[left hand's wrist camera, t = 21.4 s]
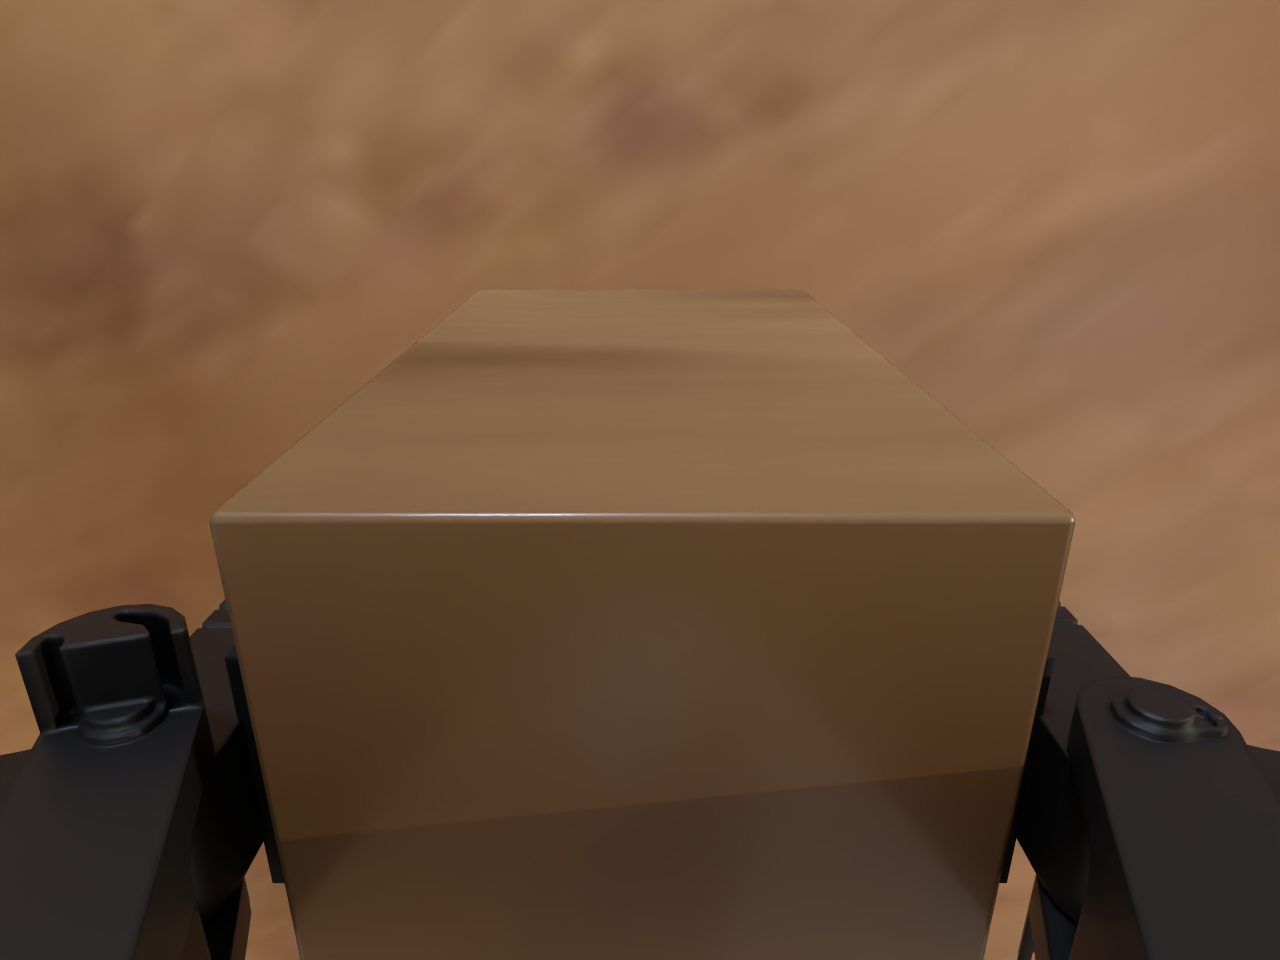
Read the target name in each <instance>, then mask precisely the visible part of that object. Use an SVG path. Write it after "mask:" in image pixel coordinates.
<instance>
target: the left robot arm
mask: <svg viewBox="0 0 1280 960" xmlns="http://www.w3.org/2000/svg"><path fill="white" fill-rule="evenodd" d="M202 625H203V626H202V628H198V629H197V630H196V631H195V632H194V633H193V634H192V635H191V636H190V638H189V634H188V629H187V625H186V621H185V617H184V616H183V615H181V614H180V613H179V612H177V611H176V610H174V609H173V608H170V607H164V606H158V605H153V604H142V605H123V606H117V607H112V608H108V609H103V610H98V611H93V612H89V613H86V614H84V615H81V616H78V617H75V618H73V619H70V620H67V621H64V622H61V623H59V624H57V625H55V626H53V627H51V628H50V629H48V630H46V631H44V632H42V633H41V634H39V635H37V636H35V637H33V638H32V639H31V640H30V641H29V642H28V643H27V644H26V645H24V646H23V647H22V648H21V649H20V650H19V651H18V652H17V653H16V654H15V656H16V659H17V662H18V665H19V668H20V671H21V675H22V678H23V681H24V684H25V687H26V690H27V693H28V696H29V699H30V702H31V706H32V709H33V712H34V715H35V718H36V721H37V724H38V727H39V730H40V735H39V737H38V739H37V740H36V742H35V744H34V746H33V748H32V749H30V750H26V751H21V752H16V753H11V754H6V755H1V756H0V960H245V954H246V947H247V940H248V933H249V926H250V919H251V908H250V901H249V894H248V890H247V886H246V881H245V877H244V876H245V874H246V872H247V870H248V869H249V867H250V865H251V863H252V861H253V859H254V858H255V856H256V854H257V852H258V850H259V849H260V847H261V845H262V843H263V841H264V845H265V849H266V854H267V859H268V863H269V868H270V873H271V877H272V882H273V883H285V882H284V877H283V872H282V868H281V863H280V858H279V853H278V848H277V844H276V839H275V834H274V829H273V824H272V820H271V815H270V810H269V805H268V800H267V796H266V791H265V786H264V781H263V776H262V772H261V767H260V762H259V757H258V752H257V748H256V743H255V738H254V733H253V728H252V724H251V719H250V714H249V709H248V704H247V700H246V695H245V690H244V685H243V680H242V676H241V671H240V666H239V661H238V656H237V652H236V647H235V642H234V637H233V632H232V628H231V623H230V618H229V613H228V608H227V604H226V599H225V600H224V601H223V602H222V603H221V604H220V608H219V610H215V611H214V612H213V613H212V614H211V615H210V616H209V617H208V618H207V619H206V620H205V622H204V623H203V624H202ZM1016 838H1017V840H1018V842H1019V843H1020V845H1021V847H1022V849H1023V851H1024V852H1025V854H1026V856H1027V858H1028V860H1029V861H1030V863H1031V865H1032V867H1033V869H1034V871H1035V872H1036V877H1035V881H1034V886H1033V890H1032V894H1031V899H1030V903H1029V907H1028V912H1027V916H1026V920H1025V925H1024V929H1023V933H1022V938H1021V942H1020V946H1019V951H1018V958H1017V960H1031V957H1032V953H1033V952H1035V959H1036V960H1280V752H1279V751H1274V750H1269V749H1264V748H1258V747H1254V746H1250V745H1247V744H1246V742H1245V741H1244V739H1243V737H1242V735H1241V733H1240V732H1239V731H1238V730H1237V728H1236V727H1235V726H1234V725H1233V724H1232V723H1231V721H1230V720H1229V719H1228V718H1227V717H1226V716H1225V715H1224V714H1223V713H1222V712H1220V711H1219V710H1217V709H1216V708H1214V707H1213V706H1211V705H1210V704H1208V703H1207V702H1205V701H1203V700H1202V699H1200V698H1199V697H1196V696H1194V695H1192V694H1189V693H1187V692H1185V691H1182V690H1180V689H1178V688H1175V687H1173V686H1170V685H1167V684H1163V683H1159V682H1155V681H1151V680H1147V679H1142V678H1135V677H1130V676H1129V675H1128V673H1127V672H1126V671H1125V670H1124V669H1123V668H1122V667H1121V666H1120V665H1119V664H1118V663H1117V662H1116V661H1115V660H1114V659H1113V658H1112V656H1111V655H1110V654H1109V653H1108V652H1107V651H1106V650H1105V649H1104V648H1103V647H1102V646H1101V645H1100V644H1099V643H1098V642H1097V641H1096V640H1095V638H1094V637H1093V636H1092V635H1091V634H1090V633H1089V632H1088V631H1087V630H1086V629H1085V628H1084V627H1083V626H1082V625H1078V620H1077V619H1076V618H1075V617H1074V616H1073V615H1072V614H1071V613H1070V612H1069V611H1068V610H1067V609H1066V608H1065V607H1061V605H1060V601H1059V602H1058V607H1057V612H1056V616H1055V621H1054V626H1053V631H1052V635H1051V640H1050V645H1049V650H1048V654H1047V659H1046V664H1045V669H1044V673H1043V678H1042V683H1041V687H1040V692H1039V697H1038V702H1037V706H1036V711H1035V716H1034V721H1033V725H1032V730H1031V735H1030V740H1029V744H1028V749H1027V754H1026V759H1025V763H1024V768H1023V773H1022V777H1021V782H1020V787H1019V792H1018V796H1017V801H1016V806H1015V811H1014V815H1013V820H1012V825H1011V830H1010V834H1009V839H1008V844H1007V849H1006V853H1005V858H1004V863H1003V867H1002V872H1001V877H1000V882H999V883H1007V879H1008V875H1009V870H1010V865H1011V861H1012V856H1013V851H1014V847H1015V842H1016Z"/></svg>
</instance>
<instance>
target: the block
mask: <svg viewBox="0 0 1280 960" xmlns="http://www.w3.org/2000/svg"><path fill="white" fill-rule="evenodd" d="M1074 526H1075V519H1074V515H1073V513H1072V512H1071V511H1070V510H1068V509H1067V508H1066V507H1065V506H1064V505H1062V504H1061V503H1060V502H1059V501H1058V500H1056V499H1055V498H1054V497H1053V496H1052V495H1050V494H1049V493H1048V492H1047V491H1045V490H1044V489H1043V488H1042V487H1041V486H1039V485H1038V484H1037V483H1036V482H1035V481H1033V480H1032V479H1031V478H1030V477H1029V476H1027V475H1026V474H1025V473H1024V472H1022V471H1021V470H1020V469H1019V468H1018V467H1016V466H1015V465H1014V464H1013V463H1012V462H1010V461H1009V460H1008V459H1007V458H1006V457H1004V456H1003V455H1002V454H1001V453H1000V452H998V451H997V450H996V449H995V448H993V447H992V446H991V445H990V444H989V443H987V442H986V441H985V440H984V439H983V438H981V437H980V436H979V435H978V434H977V433H975V432H974V431H973V430H972V429H970V428H969V427H968V426H967V425H966V424H964V423H963V422H962V421H961V420H960V419H958V418H957V417H956V416H955V415H954V414H952V413H951V412H950V411H949V410H948V409H946V408H945V407H944V406H943V405H941V404H940V403H939V402H938V401H937V400H935V399H934V398H933V397H932V396H931V395H929V394H928V393H927V392H926V391H925V390H923V389H922V388H921V387H920V386H918V385H917V384H916V383H915V382H914V381H912V380H911V379H910V378H909V377H908V376H906V375H905V374H904V373H903V372H902V371H900V370H899V369H898V368H897V367H895V366H894V365H893V364H892V363H891V362H889V361H888V360H887V359H886V358H885V357H883V356H882V355H881V354H880V353H879V352H877V351H876V350H875V349H874V348H873V347H871V346H870V345H869V344H868V343H866V342H865V341H864V340H863V339H862V338H860V337H859V336H858V335H857V334H856V333H854V332H853V331H852V330H851V329H850V328H848V327H847V326H846V325H845V324H843V323H842V322H841V321H840V320H839V319H837V318H836V317H835V316H834V315H833V314H831V313H830V312H829V311H828V310H827V309H825V308H824V307H823V306H822V305H820V304H819V303H818V302H817V301H816V300H814V299H813V298H812V297H811V296H810V295H808V294H807V293H806V292H805V291H803V290H479V291H477V292H476V293H475V294H474V295H473V296H471V297H470V298H469V299H468V300H467V301H465V302H464V303H463V304H462V305H461V306H459V307H458V308H457V309H456V310H455V311H453V312H452V313H451V314H450V315H449V316H447V317H446V318H445V319H444V320H443V321H441V322H440V323H439V324H438V325H437V326H435V327H434V328H433V329H432V330H431V331H429V332H428V333H427V334H426V335H425V336H423V337H422V338H421V339H420V340H419V341H417V342H416V343H415V344H414V345H413V346H411V347H410V348H409V349H408V350H407V351H405V352H404V353H403V354H402V355H401V356H399V357H398V358H397V359H396V360H395V361H393V362H392V363H391V364H390V365H389V366H388V367H386V368H385V369H384V370H383V371H382V372H380V373H379V374H378V375H377V376H376V377H374V378H373V379H372V380H371V381H370V382H368V383H367V384H366V385H365V386H364V387H362V388H361V389H360V390H359V391H358V392H356V393H355V394H354V395H353V396H352V397H350V398H349V399H348V400H347V401H346V402H344V403H343V404H342V405H341V406H340V407H338V408H337V409H336V410H335V411H334V412H332V413H331V414H330V415H329V416H328V417H326V418H325V419H324V420H323V421H322V422H320V423H319V424H318V425H317V426H316V427H314V428H313V429H312V430H311V431H310V432H308V433H307V434H306V435H305V436H304V437H302V438H301V439H300V440H299V441H298V442H296V443H295V444H294V445H293V446H292V447H290V448H289V449H288V450H287V451H286V452H284V453H283V454H282V455H281V456H280V457H278V458H277V459H276V460H275V461H274V462H272V463H271V464H270V465H269V466H268V467H266V468H265V469H264V470H263V471H262V472H260V473H259V474H258V475H257V476H256V477H254V478H253V479H252V480H251V481H250V482H248V483H247V484H246V485H245V486H244V487H242V488H241V489H240V490H239V491H238V492H236V493H235V494H234V495H233V496H232V497H230V498H229V499H228V500H227V501H226V502H224V503H223V504H222V505H221V506H220V507H218V508H217V509H216V510H215V511H214V512H212V514H211V518H210V527H211V532H212V537H213V541H214V546H215V551H216V556H217V560H218V565H219V570H220V575H221V580H222V584H223V589H224V594H225V599H226V604H227V608H228V613H229V618H230V623H231V628H232V632H233V637H234V642H235V647H236V652H237V656H238V661H239V666H240V671H241V676H242V680H243V685H244V690H245V695H246V700H247V704H248V709H249V714H250V719H251V724H252V728H253V733H254V738H255V743H256V748H257V752H258V757H259V762H260V767H261V772H262V776H263V781H264V786H265V791H266V796H267V800H268V805H269V810H270V815H271V820H272V824H273V829H274V834H275V839H276V844H277V848H278V853H279V858H280V863H281V868H282V872H283V877H284V882H285V887H286V892H287V896H288V901H289V906H290V911H291V916H292V920H293V925H294V930H295V935H296V939H297V944H298V949H299V954H300V959H301V960H983V957H984V953H985V948H986V943H987V939H988V934H989V929H990V924H991V920H992V915H993V910H994V905H995V901H996V896H997V891H998V886H999V882H1000V877H1001V872H1002V867H1003V863H1004V858H1005V853H1006V849H1007V844H1008V839H1009V834H1010V830H1011V825H1012V820H1013V815H1014V811H1015V806H1016V801H1017V796H1018V792H1019V787H1020V782H1021V777H1022V773H1023V768H1024V763H1025V759H1026V754H1027V749H1028V744H1029V740H1030V735H1031V730H1032V725H1033V721H1034V716H1035V711H1036V706H1037V702H1038V697H1039V692H1040V687H1041V683H1042V678H1043V673H1044V669H1045V664H1046V659H1047V654H1048V650H1049V645H1050V640H1051V635H1052V631H1053V626H1054V621H1055V616H1056V612H1057V607H1058V602H1059V597H1060V593H1061V588H1062V583H1063V578H1064V574H1065V569H1066V564H1067V560H1068V555H1069V550H1070V545H1071V541H1072V536H1073V531H1074Z"/></svg>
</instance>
